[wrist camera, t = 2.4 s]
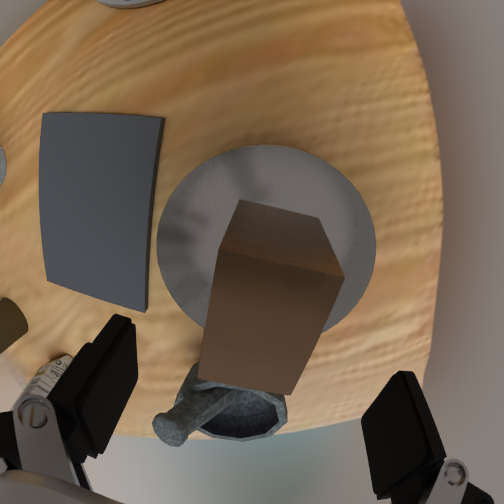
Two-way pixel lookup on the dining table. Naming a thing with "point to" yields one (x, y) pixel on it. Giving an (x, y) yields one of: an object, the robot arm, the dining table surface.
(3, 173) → the chalice
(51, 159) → the mat
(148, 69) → the dining table surface
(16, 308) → the olive pawn
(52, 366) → the juice carton
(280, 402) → the mortar and pestle
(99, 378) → the robot arm
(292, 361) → the lid
